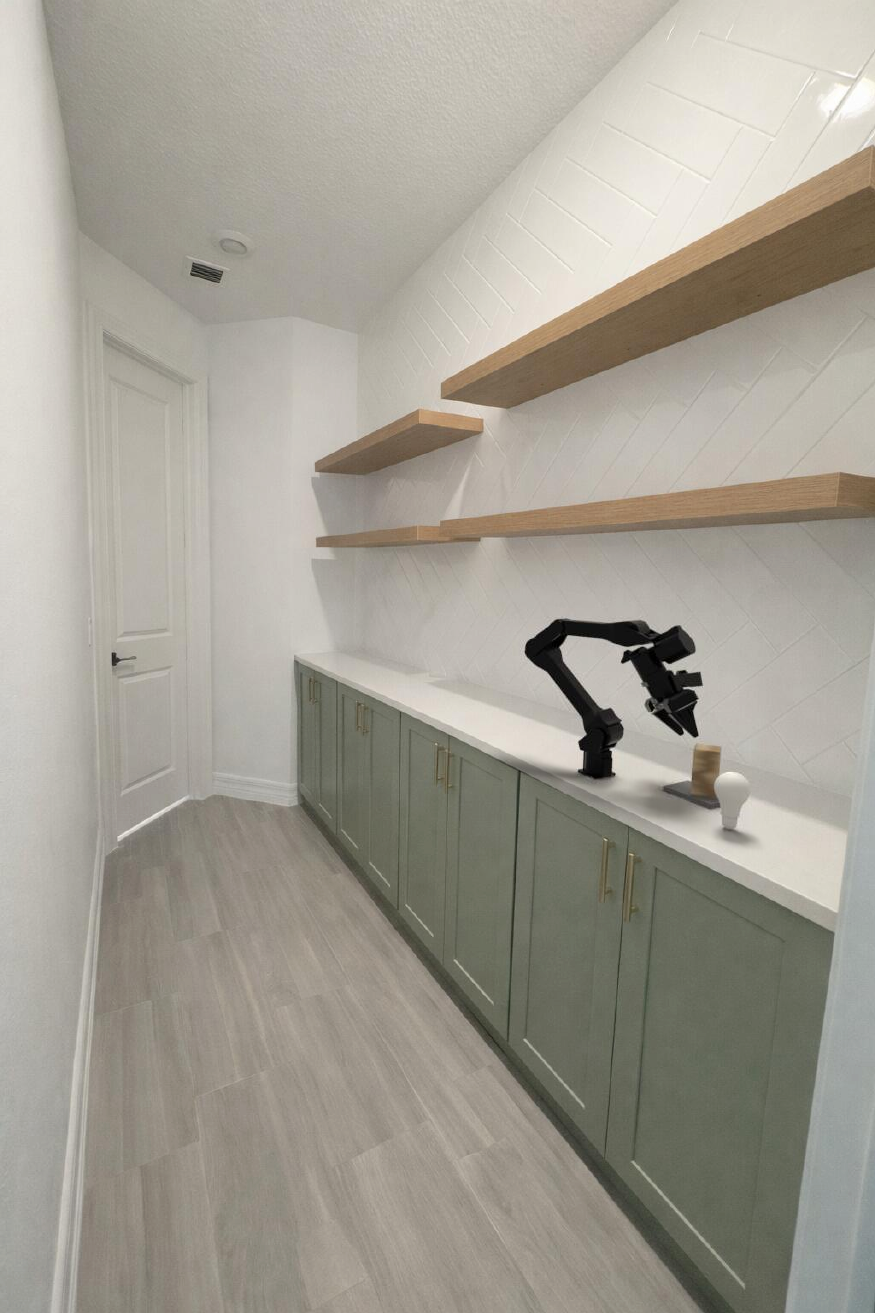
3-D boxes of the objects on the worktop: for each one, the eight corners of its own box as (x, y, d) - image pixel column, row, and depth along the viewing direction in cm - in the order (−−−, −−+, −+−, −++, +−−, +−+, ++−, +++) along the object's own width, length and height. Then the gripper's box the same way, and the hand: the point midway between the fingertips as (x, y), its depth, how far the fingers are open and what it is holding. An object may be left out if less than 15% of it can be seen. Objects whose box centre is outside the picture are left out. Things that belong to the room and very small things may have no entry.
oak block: (690, 794, 127) (693, 748, 126) (693, 787, 132) (696, 743, 130) (716, 798, 125) (719, 752, 124) (717, 791, 129) (721, 746, 128)
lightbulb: (727, 837, 109) (732, 779, 107) (703, 824, 115) (708, 768, 113) (754, 834, 110) (759, 776, 109) (730, 820, 116) (734, 766, 115)
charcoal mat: (663, 790, 133) (663, 786, 132) (687, 784, 136) (687, 780, 136) (710, 809, 122) (711, 804, 122) (735, 802, 126) (735, 797, 126)
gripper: (700, 651, 122) (740, 719, 120) (672, 658, 140) (706, 718, 138) (652, 676, 122) (691, 745, 120) (630, 681, 141) (663, 740, 139)
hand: (689, 736), depth 129 cm, fingers open, 9 cm apart
